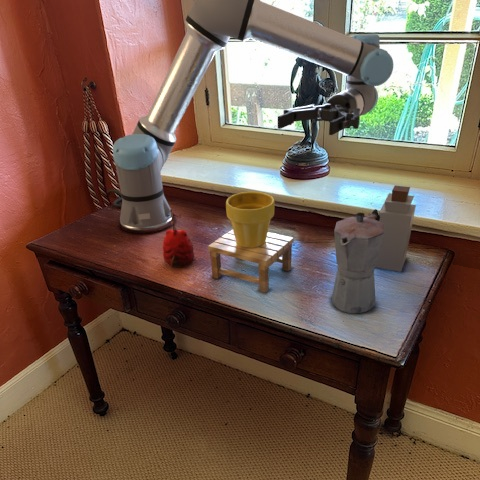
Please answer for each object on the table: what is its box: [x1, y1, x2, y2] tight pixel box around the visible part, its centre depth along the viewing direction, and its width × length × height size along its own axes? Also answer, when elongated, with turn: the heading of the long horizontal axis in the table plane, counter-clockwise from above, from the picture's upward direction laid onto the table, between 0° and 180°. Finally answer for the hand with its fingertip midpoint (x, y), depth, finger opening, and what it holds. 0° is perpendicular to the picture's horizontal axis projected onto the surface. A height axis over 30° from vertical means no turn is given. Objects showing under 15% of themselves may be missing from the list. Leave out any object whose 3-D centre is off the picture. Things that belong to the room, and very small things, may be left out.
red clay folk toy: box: [162, 208, 195, 269], centre depth 108 cm, size 8×7×15 cm
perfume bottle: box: [375, 185, 417, 273], centre depth 103 cm, size 7×7×18 cm
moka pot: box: [331, 208, 384, 314], centre depth 90 cm, size 10×15×20 cm, turn 146°
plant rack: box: [207, 228, 295, 293], centre depth 105 cm, size 15×13×8 cm
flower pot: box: [225, 191, 276, 248], centre depth 100 cm, size 10×10×10 cm
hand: (304, 125), depth 106 cm, fingers open, 13 cm apart
